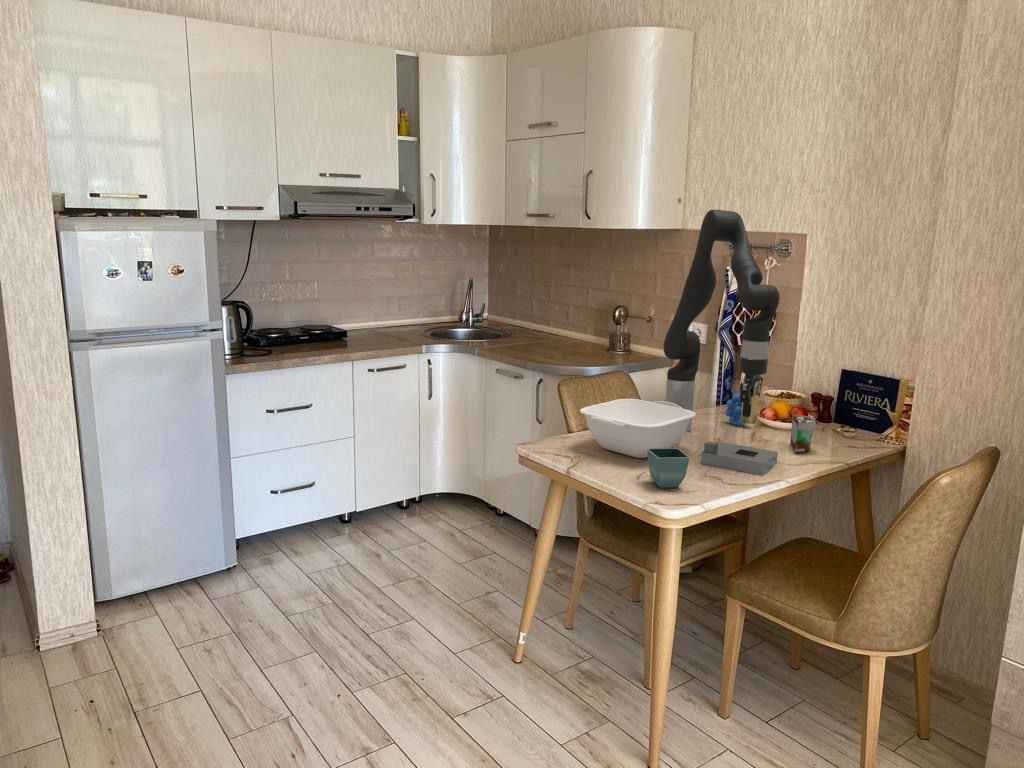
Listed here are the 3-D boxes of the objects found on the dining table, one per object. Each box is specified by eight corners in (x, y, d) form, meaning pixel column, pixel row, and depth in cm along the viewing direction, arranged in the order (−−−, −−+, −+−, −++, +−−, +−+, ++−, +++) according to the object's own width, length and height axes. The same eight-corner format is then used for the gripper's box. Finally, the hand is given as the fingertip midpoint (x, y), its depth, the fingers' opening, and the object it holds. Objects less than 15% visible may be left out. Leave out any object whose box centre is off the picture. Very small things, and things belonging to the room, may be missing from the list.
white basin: (631, 431, 260) (633, 394, 257) (706, 449, 240) (709, 410, 238) (563, 450, 236) (565, 410, 233) (640, 473, 216) (643, 429, 214)
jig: (700, 463, 226) (702, 443, 225) (716, 452, 238) (718, 433, 236) (763, 475, 216) (765, 454, 215) (776, 463, 228) (778, 443, 227)
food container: (816, 456, 236) (820, 424, 233) (795, 455, 237) (798, 423, 235) (809, 445, 247) (813, 415, 245) (789, 444, 249) (792, 413, 246)
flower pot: (675, 479, 212) (678, 447, 210) (688, 490, 203) (690, 457, 201) (644, 480, 210) (646, 448, 209) (655, 491, 202) (657, 458, 200)
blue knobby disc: (760, 427, 268) (763, 393, 265) (749, 430, 264) (752, 396, 261) (732, 420, 277) (734, 387, 274) (720, 423, 272) (723, 389, 270)
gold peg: (738, 422, 223) (740, 394, 221) (743, 418, 226) (745, 392, 225) (753, 424, 220) (756, 397, 219) (758, 421, 224) (760, 394, 222)
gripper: (748, 351, 227) (743, 408, 231) (732, 357, 215) (727, 417, 219) (774, 354, 223) (769, 412, 227) (760, 361, 211) (754, 422, 215)
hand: (748, 414), depth 223 cm, fingers closed on gold peg, 4 cm apart
